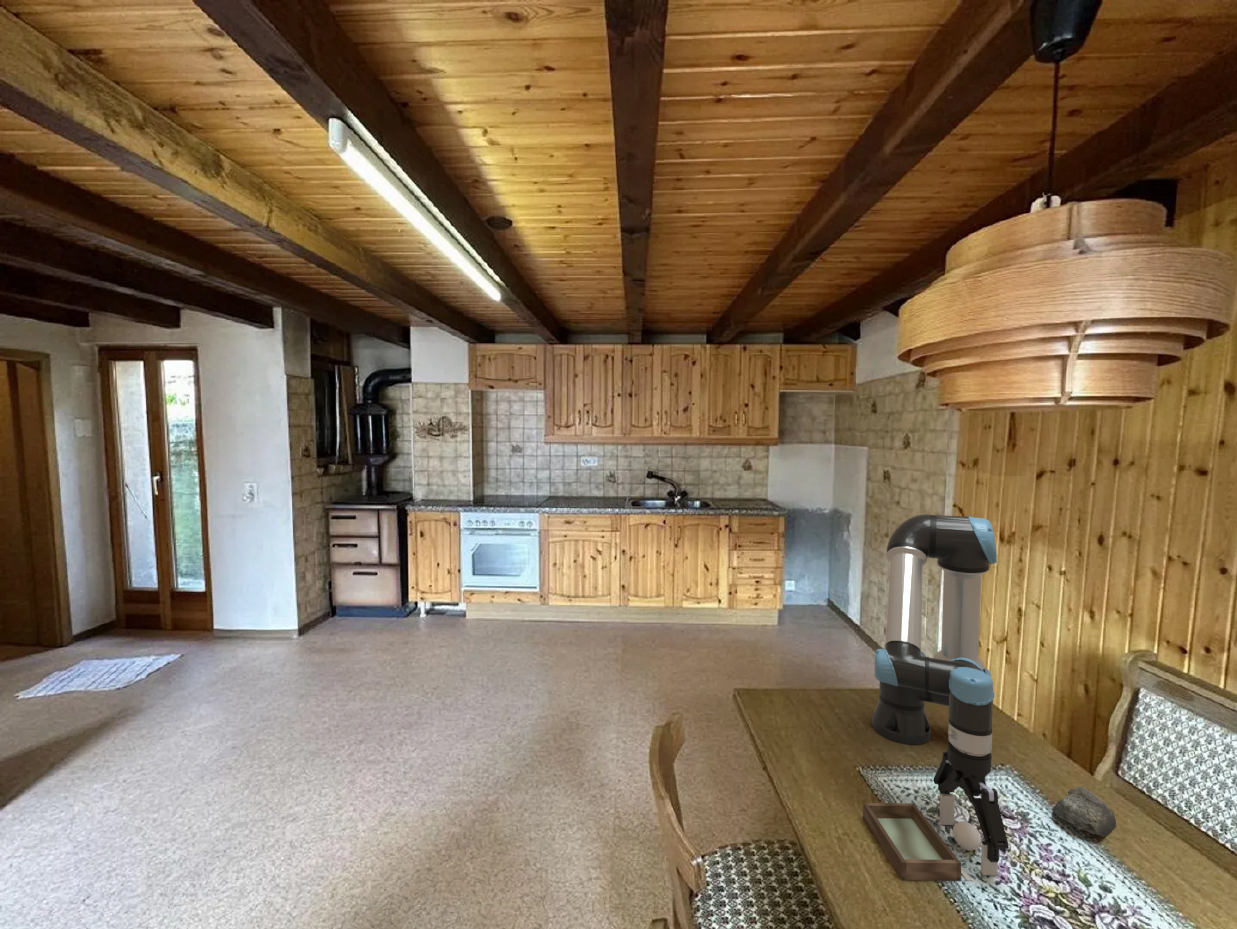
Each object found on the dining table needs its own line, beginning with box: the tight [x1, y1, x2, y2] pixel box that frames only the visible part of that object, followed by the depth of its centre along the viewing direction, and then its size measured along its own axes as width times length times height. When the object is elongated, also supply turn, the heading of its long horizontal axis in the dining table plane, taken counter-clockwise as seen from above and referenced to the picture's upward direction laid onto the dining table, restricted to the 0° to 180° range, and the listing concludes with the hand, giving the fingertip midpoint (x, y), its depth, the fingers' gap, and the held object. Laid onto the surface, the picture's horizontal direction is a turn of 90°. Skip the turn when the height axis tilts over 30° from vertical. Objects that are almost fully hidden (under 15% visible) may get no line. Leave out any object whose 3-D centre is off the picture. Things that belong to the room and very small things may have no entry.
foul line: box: [961, 866, 973, 882], centre depth 110 cm, size 1×17×1 cm, turn 179°
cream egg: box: [952, 821, 982, 852], centre depth 110 cm, size 5×5×5 cm
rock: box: [1051, 786, 1117, 838], centre depth 117 cm, size 13×9×6 cm, turn 120°
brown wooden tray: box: [862, 802, 962, 882], centre depth 110 cm, size 11×17×4 cm, turn 179°
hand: (966, 847), depth 110 cm, fingers open, 13 cm apart
